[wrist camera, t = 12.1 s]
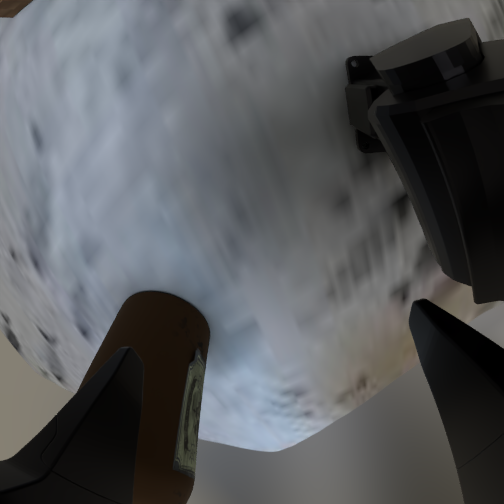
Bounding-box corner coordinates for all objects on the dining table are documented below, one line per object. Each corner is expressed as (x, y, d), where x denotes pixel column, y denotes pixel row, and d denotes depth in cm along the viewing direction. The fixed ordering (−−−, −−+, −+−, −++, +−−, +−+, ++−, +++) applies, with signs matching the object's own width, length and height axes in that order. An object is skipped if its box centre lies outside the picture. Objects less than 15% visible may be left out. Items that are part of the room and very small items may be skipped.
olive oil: (122, 343, 30) (61, 540, 9) (111, 273, 24) (-1, 535, 3) (211, 364, 31) (182, 579, 10) (223, 298, 25) (181, 609, 4)
